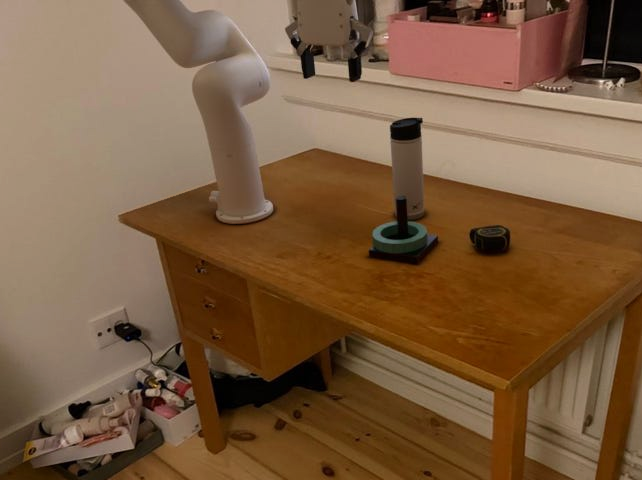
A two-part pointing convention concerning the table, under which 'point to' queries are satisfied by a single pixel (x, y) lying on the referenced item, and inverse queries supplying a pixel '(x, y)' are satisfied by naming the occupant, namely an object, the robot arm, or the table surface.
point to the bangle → (399, 245)
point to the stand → (403, 234)
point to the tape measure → (490, 238)
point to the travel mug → (408, 164)
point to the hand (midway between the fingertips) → (332, 78)
